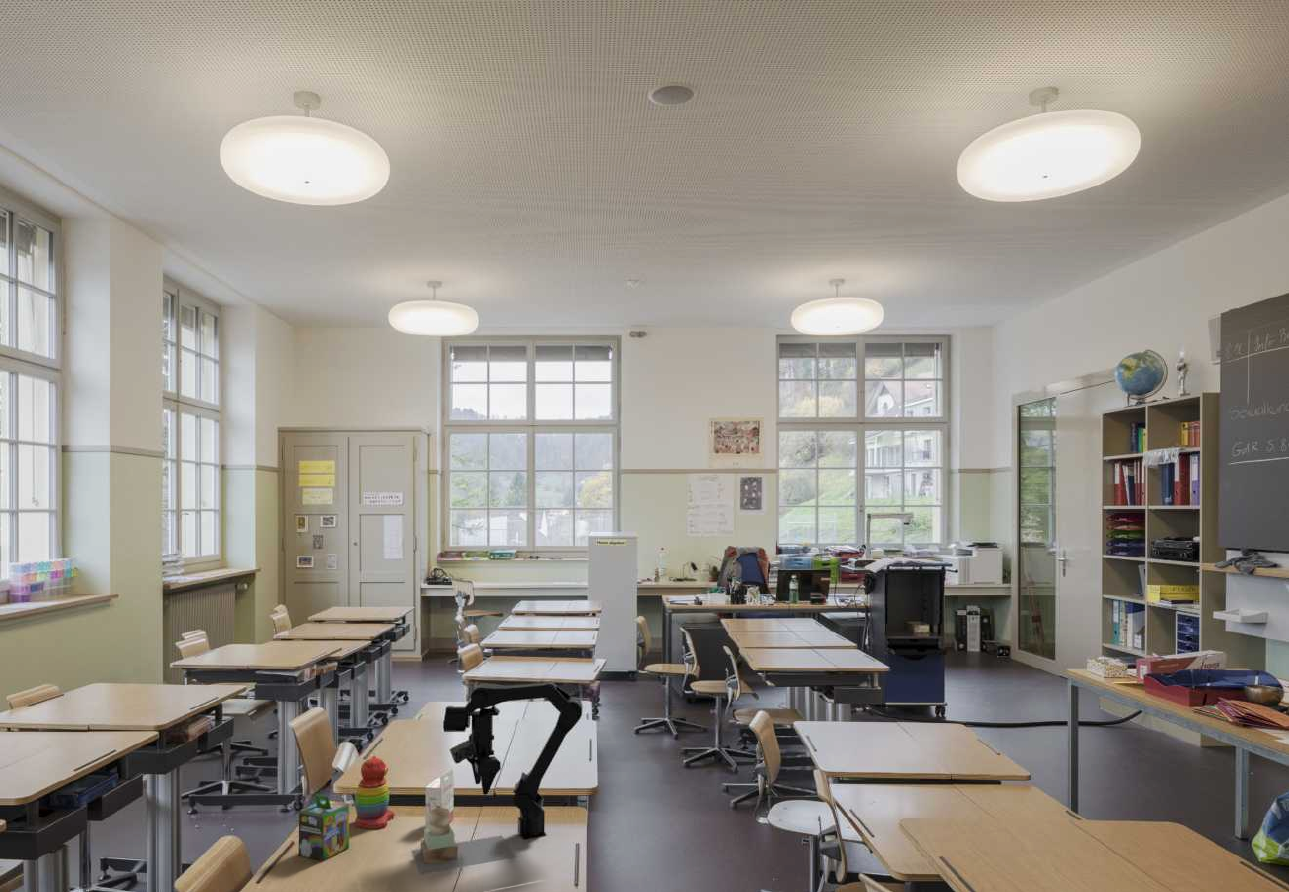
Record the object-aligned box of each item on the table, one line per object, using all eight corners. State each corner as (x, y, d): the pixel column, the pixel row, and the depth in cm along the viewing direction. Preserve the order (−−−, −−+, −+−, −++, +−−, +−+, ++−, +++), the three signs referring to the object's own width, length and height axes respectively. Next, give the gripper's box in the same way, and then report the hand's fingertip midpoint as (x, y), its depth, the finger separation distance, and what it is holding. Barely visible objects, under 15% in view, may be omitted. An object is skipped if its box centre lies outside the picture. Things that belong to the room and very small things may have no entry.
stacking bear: (384, 829, 230) (385, 764, 231) (348, 829, 230) (349, 764, 231) (396, 814, 240) (397, 752, 242) (362, 814, 241) (363, 752, 242)
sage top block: (449, 836, 216) (449, 825, 216) (454, 846, 210) (454, 834, 210) (424, 841, 213) (424, 829, 213) (428, 850, 207) (428, 838, 207)
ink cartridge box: (437, 818, 238) (438, 766, 239) (453, 819, 237) (454, 767, 238) (424, 829, 229) (425, 776, 230) (440, 831, 228) (441, 777, 229)
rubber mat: (501, 836, 224) (501, 835, 224) (516, 858, 210) (516, 856, 210) (411, 852, 214) (411, 850, 214) (420, 875, 201) (420, 874, 201)
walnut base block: (451, 847, 217) (451, 835, 217) (457, 858, 209) (457, 846, 210) (420, 852, 213) (420, 840, 214) (425, 864, 206) (425, 852, 206)
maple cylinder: (447, 826, 215) (447, 807, 215) (450, 833, 210) (451, 813, 211) (427, 829, 213) (428, 810, 213) (430, 836, 208) (431, 816, 209)
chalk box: (349, 848, 217) (351, 791, 218) (323, 862, 209) (324, 802, 210) (324, 842, 221) (325, 786, 222) (296, 855, 213) (298, 797, 214)
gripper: (446, 726, 232) (445, 782, 231) (459, 743, 215) (458, 804, 214) (485, 722, 237) (484, 777, 235) (501, 738, 220) (500, 798, 218)
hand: (481, 789), depth 226 cm, fingers open, 9 cm apart
